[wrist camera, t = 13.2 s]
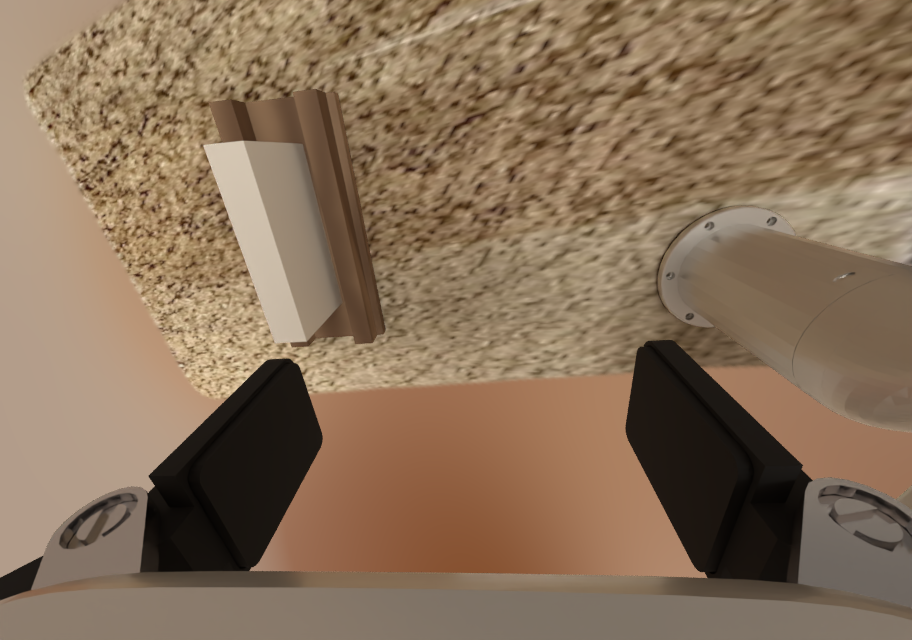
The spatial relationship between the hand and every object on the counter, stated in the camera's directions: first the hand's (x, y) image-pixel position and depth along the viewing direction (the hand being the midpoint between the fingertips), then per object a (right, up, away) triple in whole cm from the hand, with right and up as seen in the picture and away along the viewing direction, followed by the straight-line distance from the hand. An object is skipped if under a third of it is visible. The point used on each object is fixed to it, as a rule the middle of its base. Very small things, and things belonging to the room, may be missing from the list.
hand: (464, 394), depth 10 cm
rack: (-15, +11, +27) cm, 33 cm away
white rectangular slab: (-15, +11, +26) cm, 32 cm away
